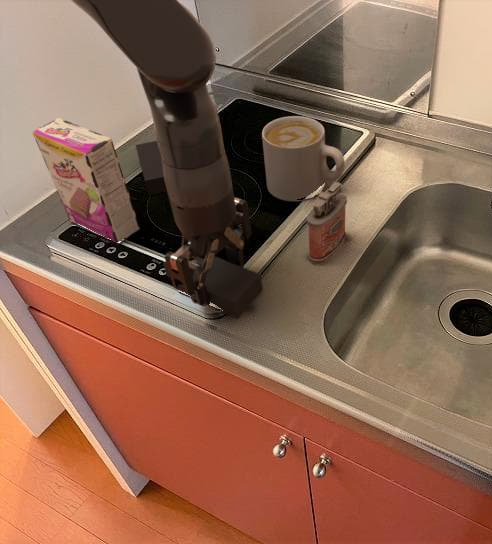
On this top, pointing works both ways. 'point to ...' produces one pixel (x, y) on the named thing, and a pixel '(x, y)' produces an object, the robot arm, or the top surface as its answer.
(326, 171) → the coffee mug
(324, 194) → the lighter
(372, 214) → the top surface
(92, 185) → the candy bar box
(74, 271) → the top surface
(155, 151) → the notch mat
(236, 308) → the tab pad
